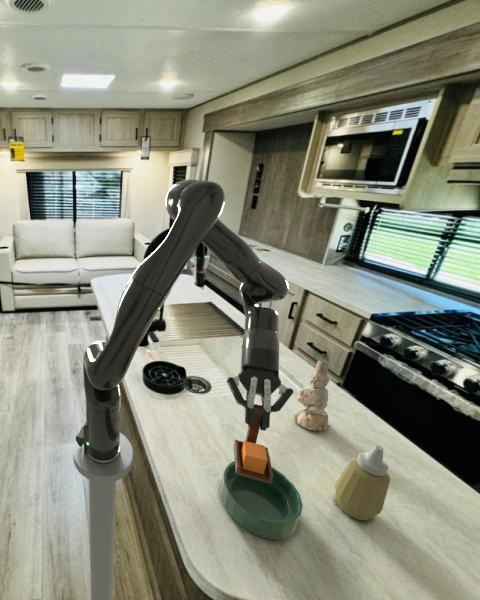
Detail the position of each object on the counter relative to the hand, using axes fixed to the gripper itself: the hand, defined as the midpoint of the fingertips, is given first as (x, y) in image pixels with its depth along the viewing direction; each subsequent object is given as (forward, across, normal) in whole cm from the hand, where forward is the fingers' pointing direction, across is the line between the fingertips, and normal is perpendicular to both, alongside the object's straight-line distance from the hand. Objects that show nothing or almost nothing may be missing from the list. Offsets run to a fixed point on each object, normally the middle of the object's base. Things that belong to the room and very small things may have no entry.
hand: (256, 428), depth 67 cm
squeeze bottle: (+11, +23, +17) cm, 31 cm away
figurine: (-8, +21, +36) cm, 43 cm away
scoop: (+7, 0, +4) cm, 8 cm away
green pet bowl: (+15, +3, +12) cm, 20 cm away
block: (+7, 0, +3) cm, 8 cm away
